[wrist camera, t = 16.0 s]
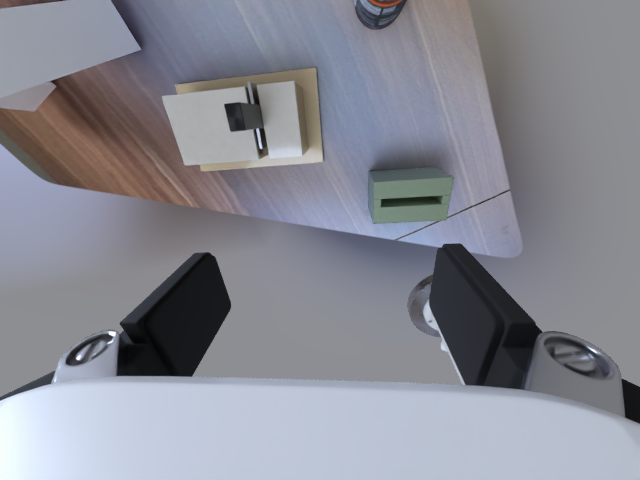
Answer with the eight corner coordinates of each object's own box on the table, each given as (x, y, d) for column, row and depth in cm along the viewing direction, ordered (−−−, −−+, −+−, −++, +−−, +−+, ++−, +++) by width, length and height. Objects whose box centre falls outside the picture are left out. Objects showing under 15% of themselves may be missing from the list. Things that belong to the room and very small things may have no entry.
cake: (323, 161, 37) (319, 171, 30) (204, 170, 39) (176, 181, 32) (316, 68, 31) (309, 55, 25) (178, 85, 34) (138, 77, 27)
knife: (260, 89, 32) (216, 73, 21) (271, 87, 32) (233, 71, 21) (269, 143, 35) (235, 156, 24) (280, 142, 35) (251, 155, 24)
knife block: (434, 166, 36) (453, 176, 30) (429, 203, 39) (446, 220, 33) (368, 171, 37) (374, 182, 31) (368, 207, 40) (373, 223, 34)
